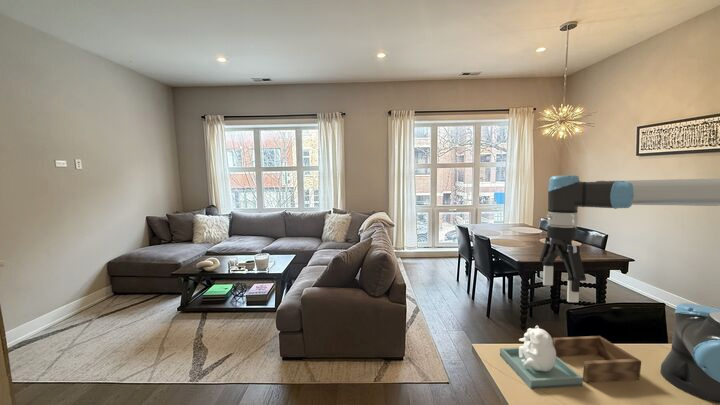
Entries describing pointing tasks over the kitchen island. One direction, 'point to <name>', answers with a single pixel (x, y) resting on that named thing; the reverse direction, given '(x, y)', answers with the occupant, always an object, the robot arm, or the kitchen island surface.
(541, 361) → the figurine
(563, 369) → the tray
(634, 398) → the kitchen island surface
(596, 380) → the wooden open box
